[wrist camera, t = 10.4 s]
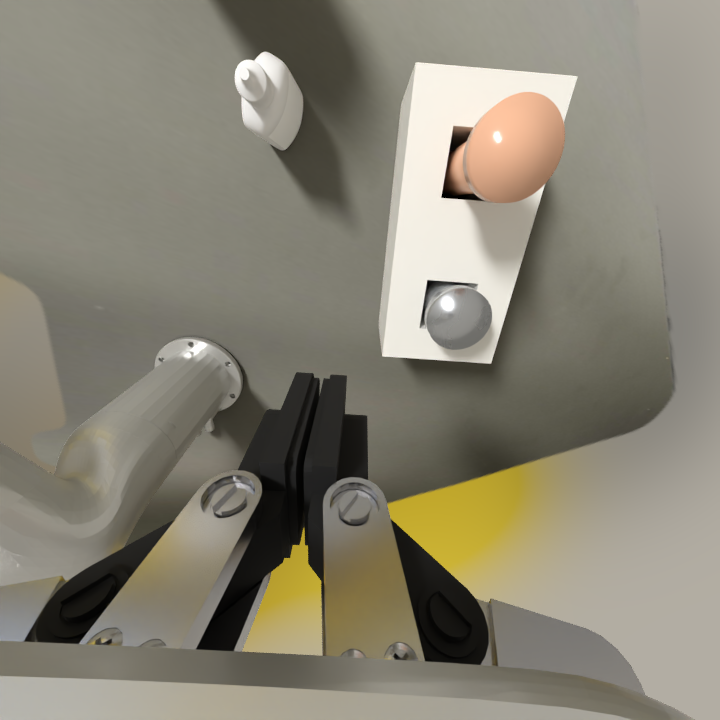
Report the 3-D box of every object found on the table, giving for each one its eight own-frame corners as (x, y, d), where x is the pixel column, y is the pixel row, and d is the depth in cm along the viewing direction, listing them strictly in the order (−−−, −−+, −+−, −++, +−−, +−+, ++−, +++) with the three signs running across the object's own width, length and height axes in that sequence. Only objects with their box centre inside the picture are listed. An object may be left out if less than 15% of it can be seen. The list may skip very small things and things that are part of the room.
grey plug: (446, 307, 40) (483, 351, 28) (404, 304, 40) (422, 347, 28) (455, 263, 38) (499, 291, 25) (410, 260, 38) (433, 286, 25)
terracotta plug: (475, 206, 32) (545, 206, 20) (423, 202, 32) (460, 199, 20) (489, 143, 30) (580, 96, 17) (432, 138, 30) (482, 87, 17)
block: (464, 330, 42) (491, 363, 33) (378, 324, 42) (382, 356, 33) (516, 113, 31) (577, 76, 22) (401, 104, 31) (415, 62, 22)
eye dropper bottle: (318, 121, 32) (295, 77, 21) (278, 157, 33) (237, 133, 22) (292, 76, 30) (252, 3, 19) (250, 116, 32) (192, 69, 21)
